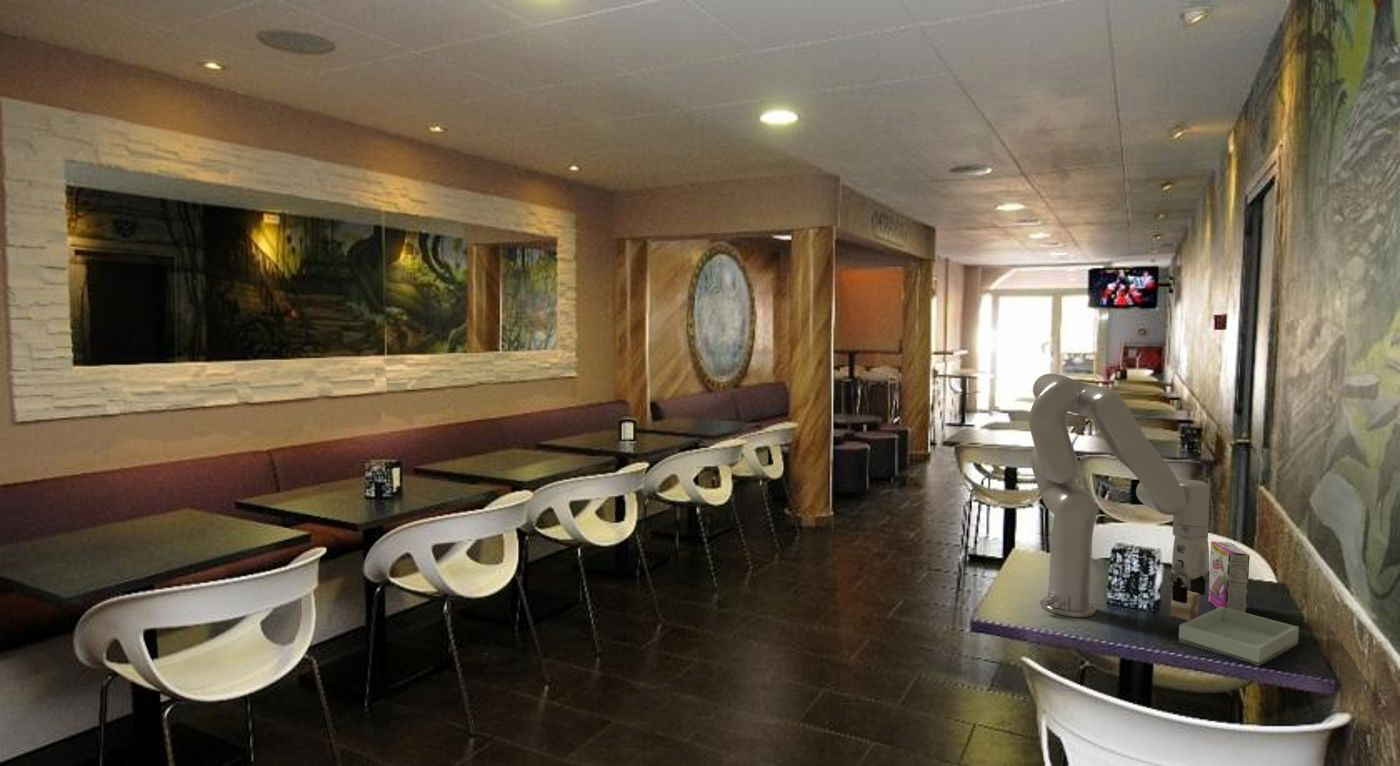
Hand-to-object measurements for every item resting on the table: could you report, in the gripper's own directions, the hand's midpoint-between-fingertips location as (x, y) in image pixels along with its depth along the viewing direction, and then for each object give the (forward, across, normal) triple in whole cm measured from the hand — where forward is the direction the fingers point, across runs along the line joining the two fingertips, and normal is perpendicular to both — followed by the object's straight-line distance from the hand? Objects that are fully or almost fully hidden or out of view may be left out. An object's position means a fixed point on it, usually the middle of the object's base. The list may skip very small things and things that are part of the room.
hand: (1188, 597), depth 199 cm
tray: (+5, -9, -14) cm, 17 cm away
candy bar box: (+5, +13, -3) cm, 15 cm away
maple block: (+5, -1, +1) cm, 5 cm away
